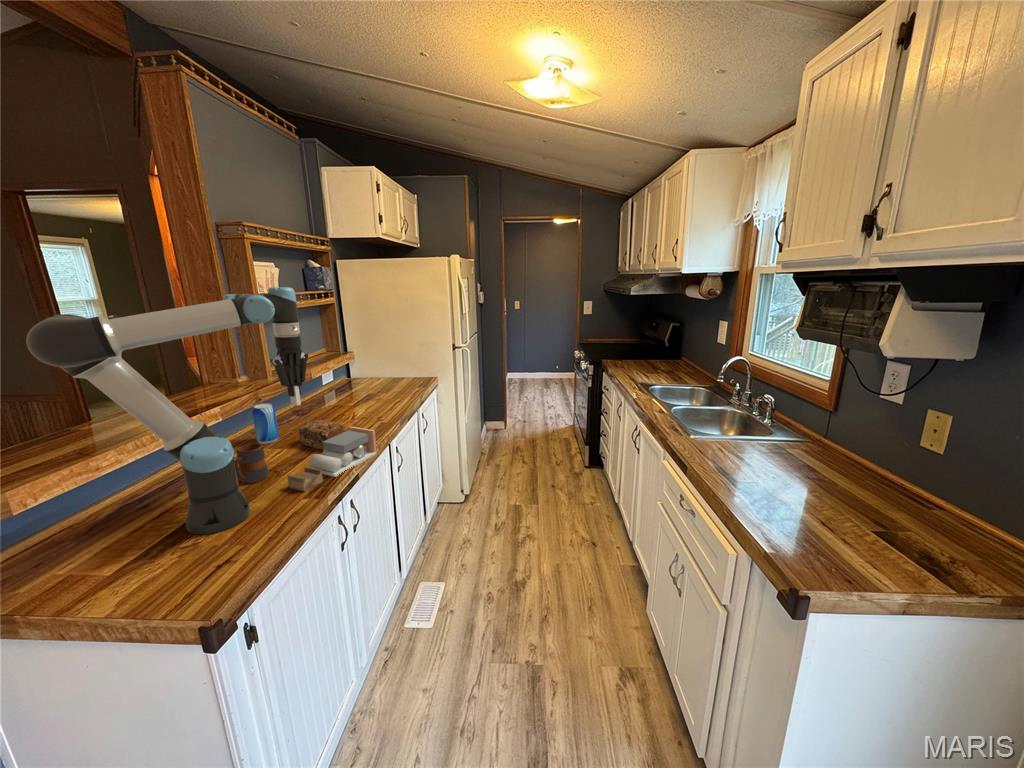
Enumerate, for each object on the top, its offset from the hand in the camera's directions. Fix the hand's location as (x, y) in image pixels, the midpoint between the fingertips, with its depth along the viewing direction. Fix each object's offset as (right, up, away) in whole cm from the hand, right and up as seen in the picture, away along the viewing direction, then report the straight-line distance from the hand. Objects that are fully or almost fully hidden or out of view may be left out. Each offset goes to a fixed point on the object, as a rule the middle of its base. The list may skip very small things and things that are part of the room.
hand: (296, 404), depth 138 cm
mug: (-17, -27, +2) cm, 32 cm away
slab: (+10, -16, +17) cm, 26 cm away
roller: (+11, -19, +20) cm, 30 cm away
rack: (+4, -27, 0) cm, 28 cm away
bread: (-7, -19, +34) cm, 40 cm away
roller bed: (+10, -23, +17) cm, 30 cm away
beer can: (-32, -18, +37) cm, 52 cm away
